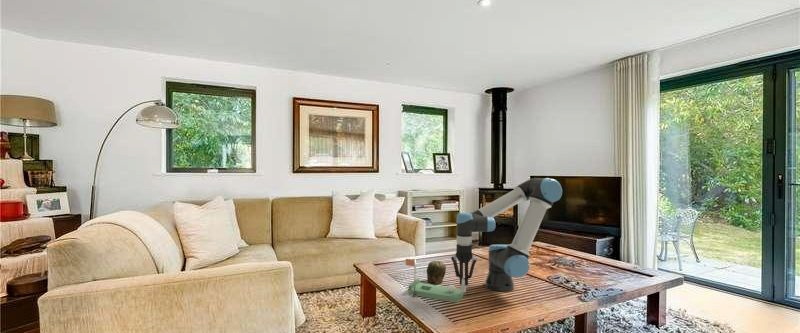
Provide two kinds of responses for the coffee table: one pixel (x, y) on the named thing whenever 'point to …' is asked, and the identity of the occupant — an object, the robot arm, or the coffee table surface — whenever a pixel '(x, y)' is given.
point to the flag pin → (413, 263)
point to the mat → (435, 292)
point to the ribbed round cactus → (436, 272)
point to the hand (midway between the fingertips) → (463, 291)
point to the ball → (451, 288)
